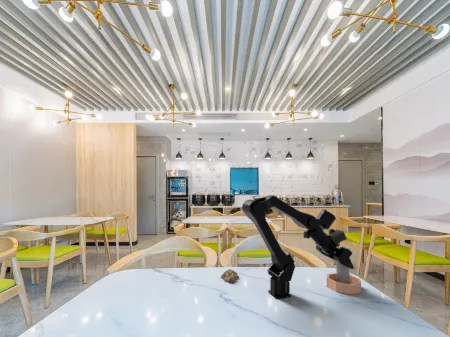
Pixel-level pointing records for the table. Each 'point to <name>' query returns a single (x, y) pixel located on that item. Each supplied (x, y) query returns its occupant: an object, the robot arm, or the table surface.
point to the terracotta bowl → (342, 287)
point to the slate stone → (342, 273)
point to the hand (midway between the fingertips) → (346, 264)
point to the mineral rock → (230, 276)
